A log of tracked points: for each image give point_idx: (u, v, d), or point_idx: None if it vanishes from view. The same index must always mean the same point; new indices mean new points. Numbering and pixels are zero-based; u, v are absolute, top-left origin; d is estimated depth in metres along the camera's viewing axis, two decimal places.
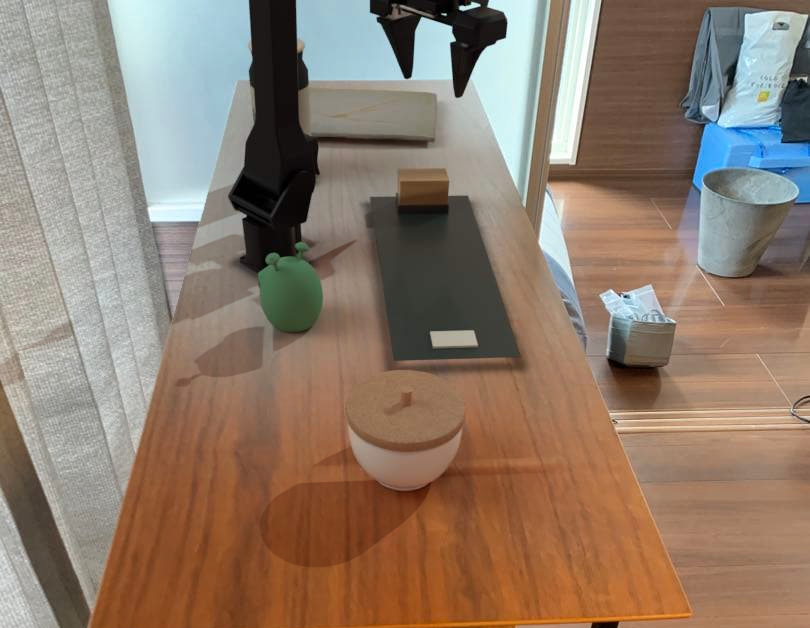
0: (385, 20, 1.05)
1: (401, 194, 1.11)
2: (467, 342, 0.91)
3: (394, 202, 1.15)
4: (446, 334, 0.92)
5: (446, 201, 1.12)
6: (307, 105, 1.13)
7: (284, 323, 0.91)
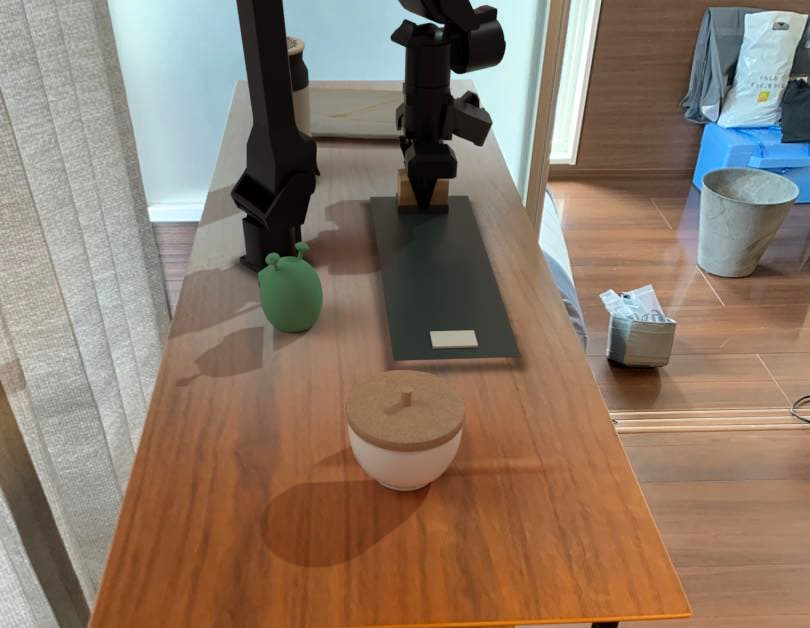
0: (401, 140, 1.12)
1: (401, 194, 1.11)
2: (467, 342, 0.91)
3: (394, 202, 1.15)
4: (446, 334, 0.92)
5: (446, 201, 1.12)
6: (307, 105, 1.13)
7: (284, 323, 0.91)
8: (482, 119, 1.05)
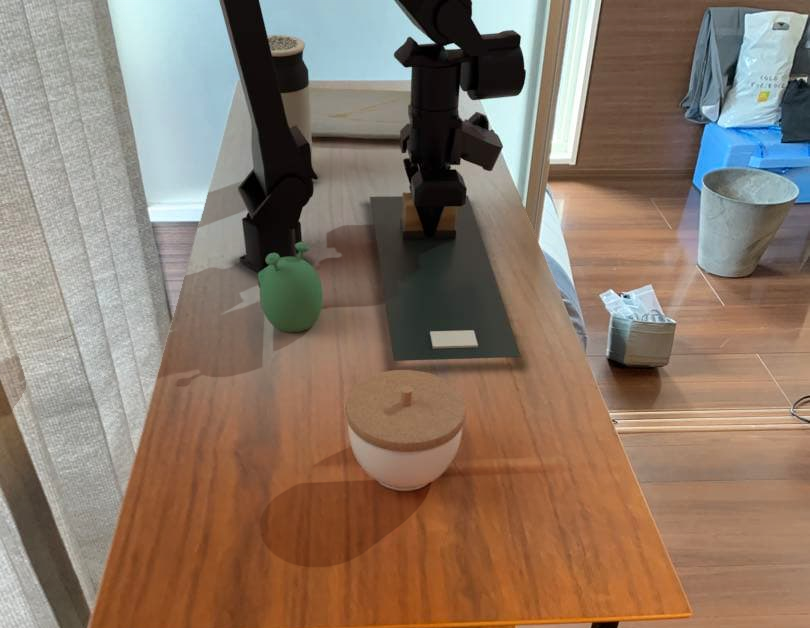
0: (406, 164, 1.06)
1: (406, 220, 1.06)
2: (467, 342, 0.91)
3: (394, 202, 1.15)
4: (446, 334, 0.92)
5: (453, 226, 1.07)
6: (307, 105, 1.13)
7: (284, 323, 0.91)
8: (492, 143, 1.00)
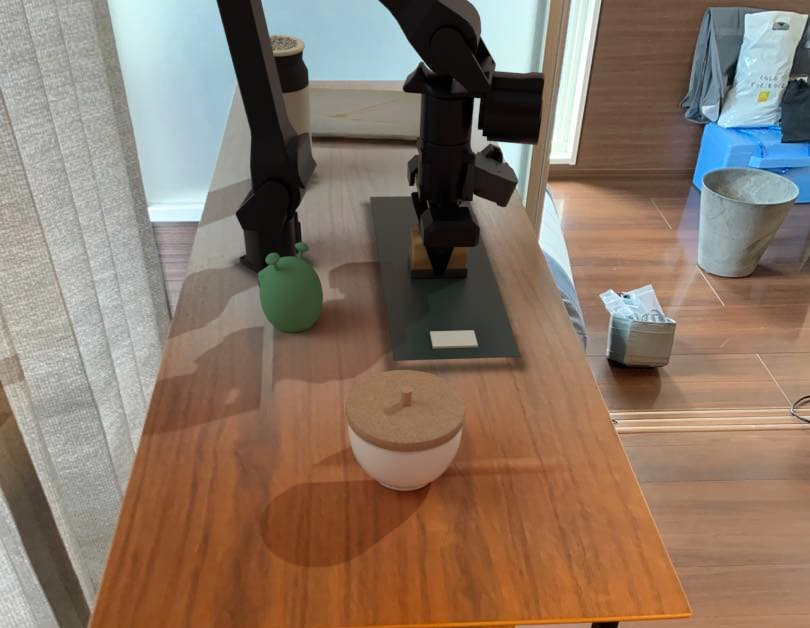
0: (414, 198, 1.00)
1: (414, 258, 0.99)
2: (467, 342, 0.91)
3: (394, 202, 1.15)
4: (446, 334, 0.92)
5: (464, 265, 1.00)
6: (307, 105, 1.13)
7: (284, 323, 0.91)
8: (507, 178, 0.93)
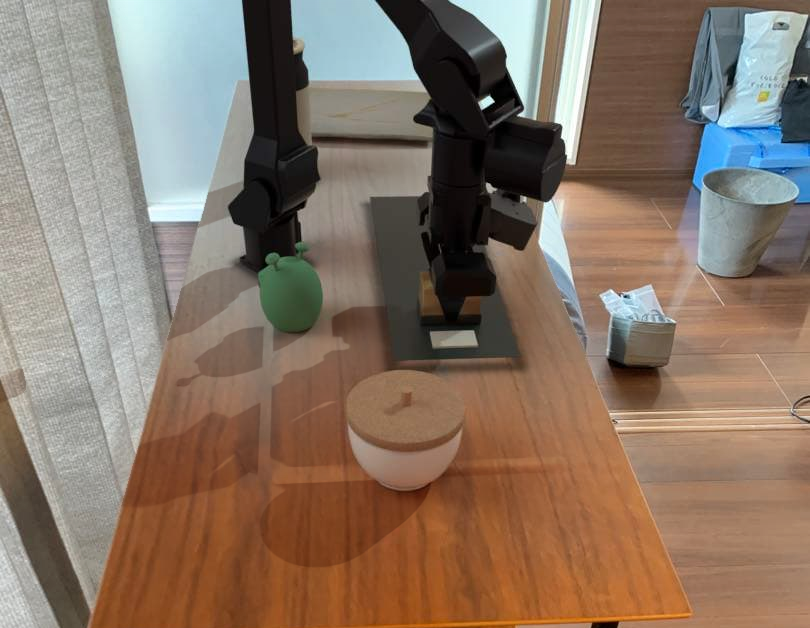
0: (424, 239, 0.93)
1: (424, 304, 0.92)
2: (467, 342, 0.91)
3: (394, 202, 1.15)
4: (446, 334, 0.92)
5: (478, 310, 0.93)
6: (307, 105, 1.13)
7: (284, 323, 0.91)
8: (525, 220, 0.86)
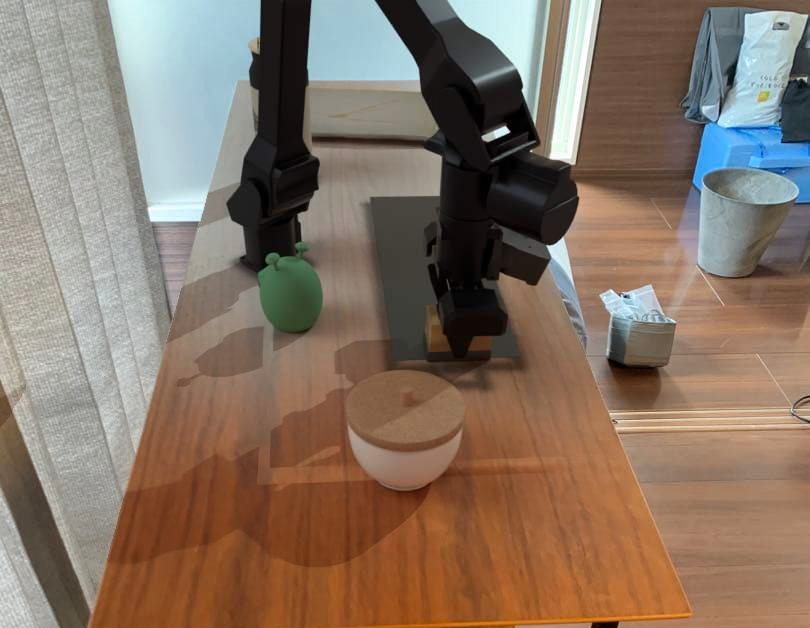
0: (431, 271, 0.88)
1: (431, 340, 0.87)
2: None
3: (394, 202, 1.15)
4: None
5: (488, 346, 0.89)
6: (307, 105, 1.13)
7: (284, 323, 0.91)
8: (538, 254, 0.81)
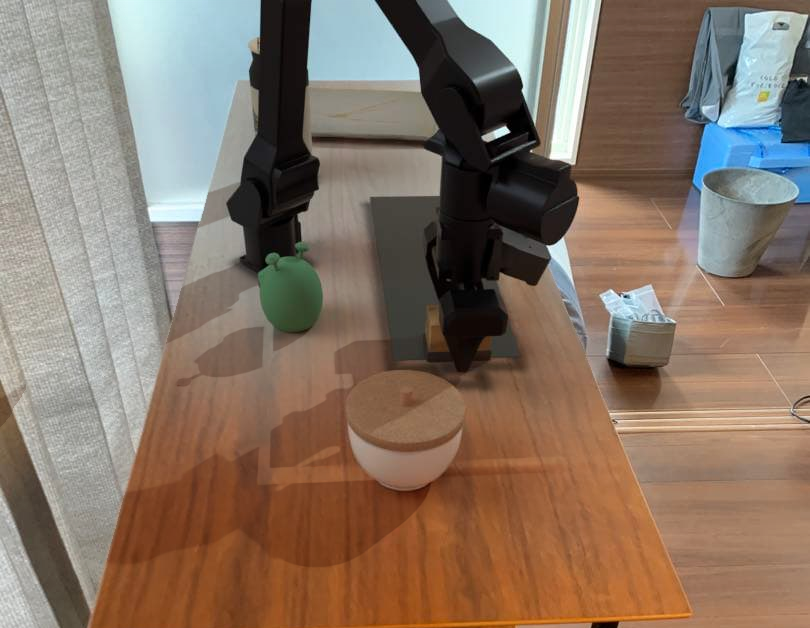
0: (428, 260, 0.89)
1: (431, 340, 0.87)
2: None
3: (394, 202, 1.15)
4: None
5: (488, 347, 0.89)
6: (307, 105, 1.13)
7: (284, 323, 0.91)
8: (538, 254, 0.81)
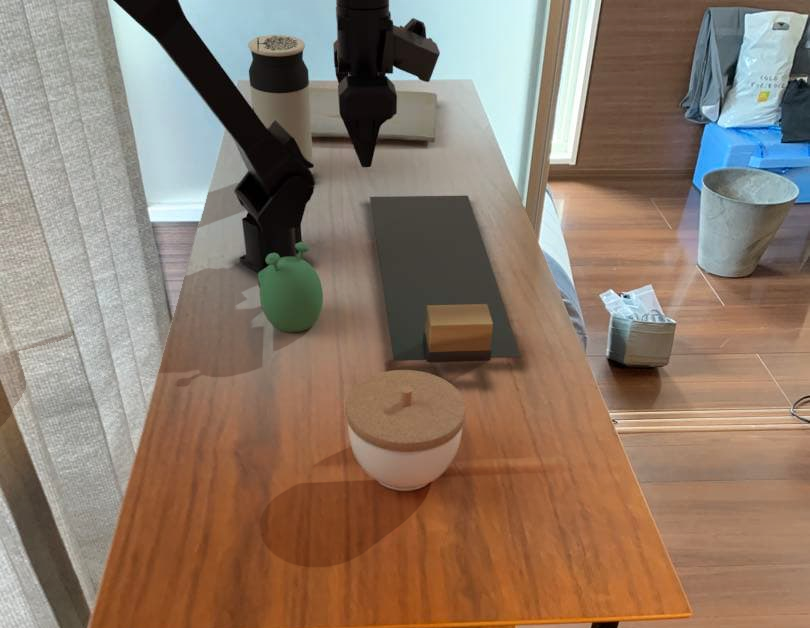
0: (337, 71, 1.00)
1: (431, 340, 0.87)
2: None
3: (394, 202, 1.15)
4: None
5: (488, 347, 0.89)
6: (307, 105, 1.13)
7: (284, 323, 0.91)
8: (427, 49, 0.91)
